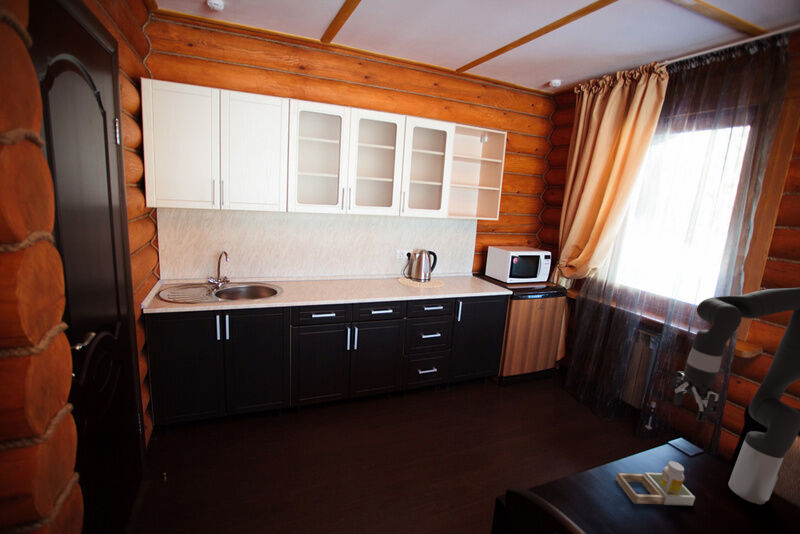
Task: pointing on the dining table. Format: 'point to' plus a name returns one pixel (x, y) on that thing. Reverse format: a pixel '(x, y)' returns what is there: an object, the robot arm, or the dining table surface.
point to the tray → (681, 499)
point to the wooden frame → (639, 498)
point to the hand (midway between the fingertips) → (688, 412)
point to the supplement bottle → (672, 478)
